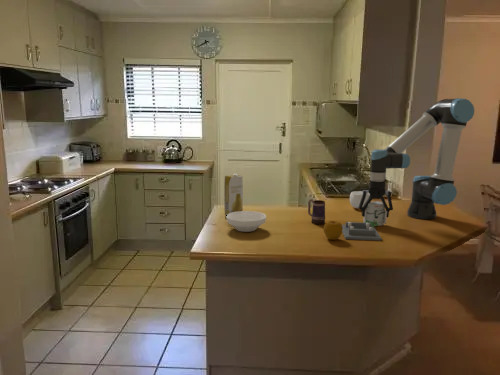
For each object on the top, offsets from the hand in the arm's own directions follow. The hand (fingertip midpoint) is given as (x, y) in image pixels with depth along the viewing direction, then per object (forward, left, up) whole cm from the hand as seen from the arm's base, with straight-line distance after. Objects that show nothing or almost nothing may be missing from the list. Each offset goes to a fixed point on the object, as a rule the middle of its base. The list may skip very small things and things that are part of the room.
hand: (374, 222), depth 208 cm
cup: (+2, -35, -1) cm, 35 cm away
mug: (+30, -1, -1) cm, 30 cm away
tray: (+10, +16, -1) cm, 19 cm away
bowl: (+65, +17, -1) cm, 67 cm away
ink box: (0, 0, -1) cm, 1 cm away
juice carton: (+75, -8, -1) cm, 75 cm away
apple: (+24, +27, -1) cm, 36 cm away
